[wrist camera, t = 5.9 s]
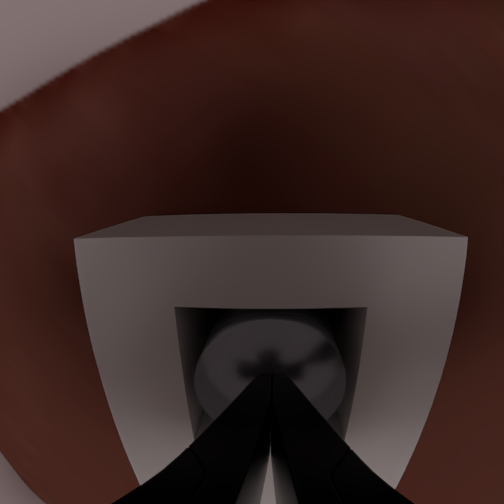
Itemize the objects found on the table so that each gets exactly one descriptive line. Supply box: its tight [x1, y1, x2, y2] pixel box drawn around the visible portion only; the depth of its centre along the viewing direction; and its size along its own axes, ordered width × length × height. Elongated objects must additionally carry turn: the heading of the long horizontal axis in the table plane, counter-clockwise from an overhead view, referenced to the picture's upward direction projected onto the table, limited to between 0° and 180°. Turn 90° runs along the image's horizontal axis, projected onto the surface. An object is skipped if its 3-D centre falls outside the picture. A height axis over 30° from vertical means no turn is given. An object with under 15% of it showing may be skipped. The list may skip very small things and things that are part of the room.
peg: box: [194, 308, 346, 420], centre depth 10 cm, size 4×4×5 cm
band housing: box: [74, 213, 468, 504], centre depth 12 cm, size 10×22×5 cm, turn 1°
